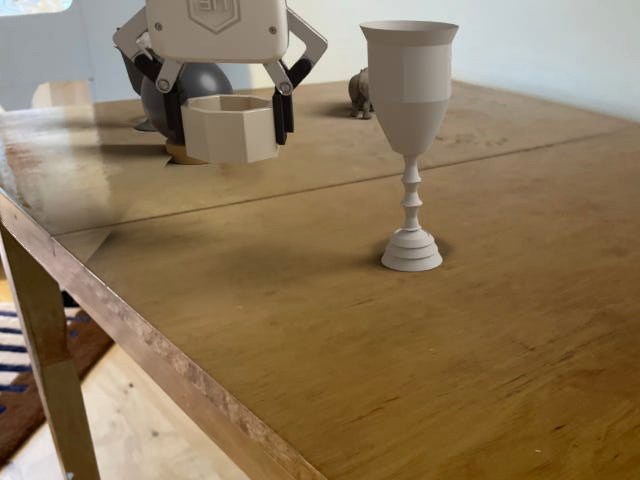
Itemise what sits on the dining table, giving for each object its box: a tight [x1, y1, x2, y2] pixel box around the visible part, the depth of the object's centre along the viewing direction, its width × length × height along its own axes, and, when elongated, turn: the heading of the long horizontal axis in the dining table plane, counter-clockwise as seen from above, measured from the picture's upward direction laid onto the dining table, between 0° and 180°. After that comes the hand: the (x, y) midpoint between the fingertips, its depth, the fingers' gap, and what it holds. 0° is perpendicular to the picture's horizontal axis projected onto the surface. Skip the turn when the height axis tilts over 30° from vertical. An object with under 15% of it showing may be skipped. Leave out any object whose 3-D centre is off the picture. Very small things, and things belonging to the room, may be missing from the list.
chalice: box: [358, 19, 460, 272], centre depth 60 cm, size 7×7×18 cm
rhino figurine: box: [347, 66, 374, 120], centre depth 117 cm, size 4×14×6 cm, turn 179°
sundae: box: [113, 27, 162, 132], centre depth 100 cm, size 7×7×15 cm
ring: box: [181, 94, 281, 165], centre depth 65 cm, size 7×7×4 cm
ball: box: [140, 58, 235, 165], centre depth 88 cm, size 10×10×12 cm
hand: (233, 139), depth 65 cm, fingers closed on ring, 7 cm apart
